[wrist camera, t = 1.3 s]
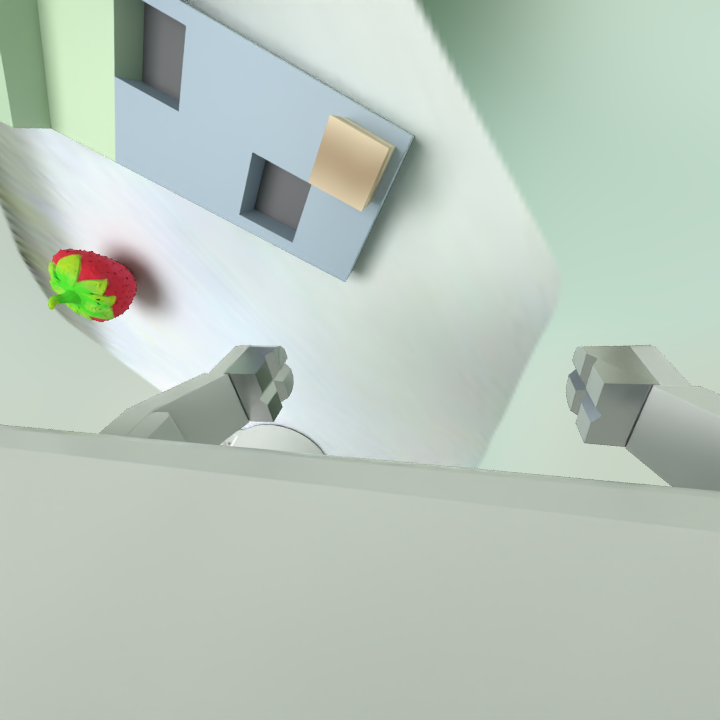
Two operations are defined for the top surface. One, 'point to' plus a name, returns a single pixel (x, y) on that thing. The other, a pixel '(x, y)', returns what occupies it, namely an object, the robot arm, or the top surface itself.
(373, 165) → the beech block
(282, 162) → the trap board
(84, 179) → the top surface
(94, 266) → the strawberry
